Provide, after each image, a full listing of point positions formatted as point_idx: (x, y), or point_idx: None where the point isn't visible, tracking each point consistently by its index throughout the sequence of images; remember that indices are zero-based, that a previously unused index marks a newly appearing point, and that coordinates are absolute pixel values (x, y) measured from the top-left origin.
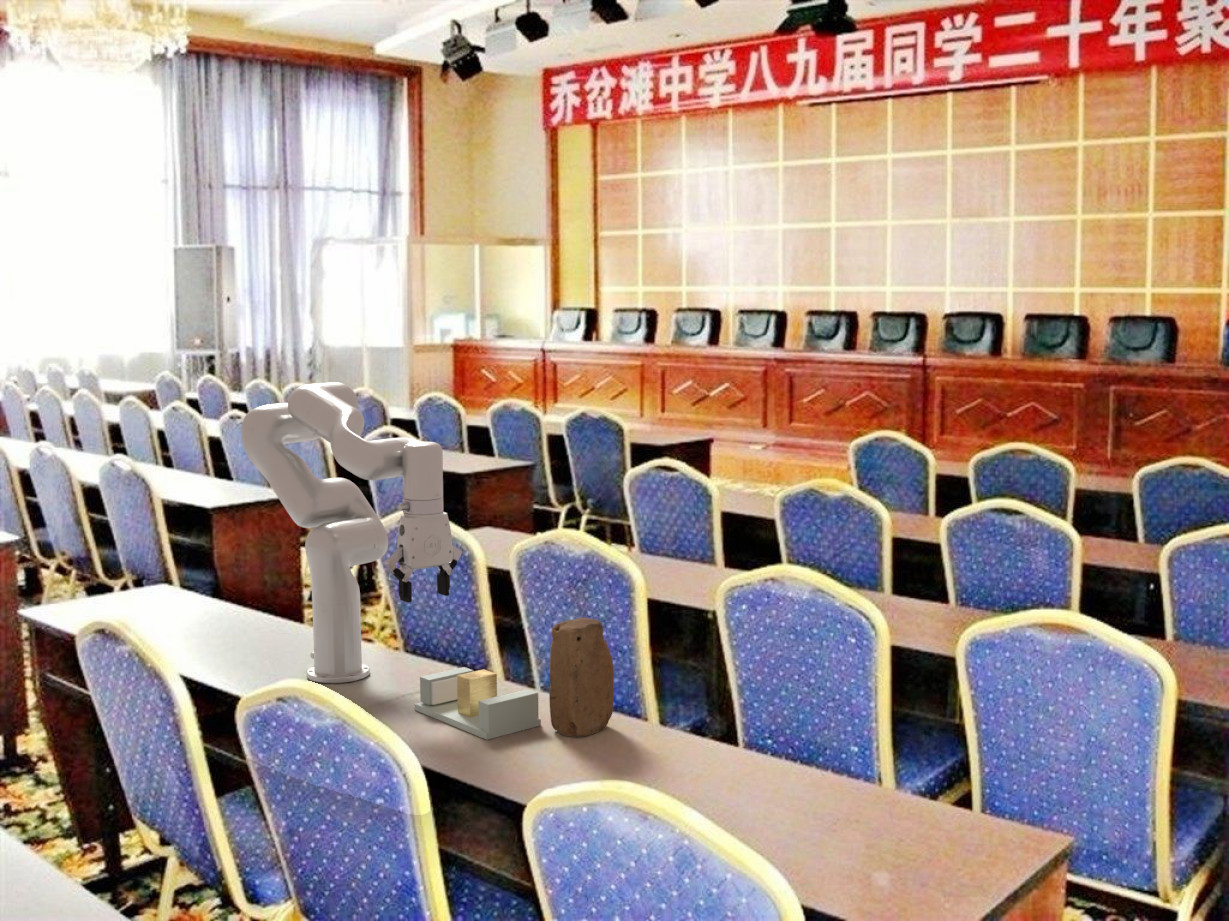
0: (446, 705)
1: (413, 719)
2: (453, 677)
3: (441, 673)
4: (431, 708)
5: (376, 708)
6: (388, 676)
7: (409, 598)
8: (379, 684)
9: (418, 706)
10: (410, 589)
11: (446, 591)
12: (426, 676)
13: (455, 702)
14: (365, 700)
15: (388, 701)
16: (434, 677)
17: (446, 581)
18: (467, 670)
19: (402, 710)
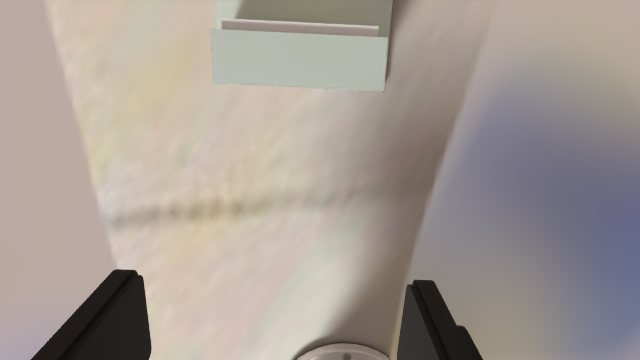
0: (335, 14)
1: (432, 25)
2: (293, 31)
3: (311, 73)
4: (380, 22)
5: (433, 163)
6: (270, 330)
7: (434, 292)
8: (317, 298)
9: (385, 71)
10: (446, 335)
11: (123, 286)
12: (366, 78)
13: (300, 21)
14: (411, 227)
15: (380, 188)
16: (356, 50)
17: (77, 340)
18: (227, 40)
19: (402, 108)
